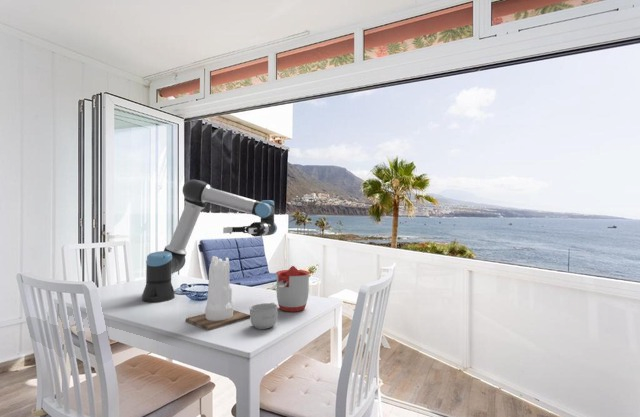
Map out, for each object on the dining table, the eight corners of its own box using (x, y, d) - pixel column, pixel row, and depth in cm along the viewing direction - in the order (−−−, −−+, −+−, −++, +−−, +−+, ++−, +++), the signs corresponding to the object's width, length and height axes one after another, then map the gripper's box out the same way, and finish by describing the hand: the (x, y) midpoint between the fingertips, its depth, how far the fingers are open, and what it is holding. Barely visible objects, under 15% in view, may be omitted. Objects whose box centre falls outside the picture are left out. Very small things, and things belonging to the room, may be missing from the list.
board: (185, 321, 134) (185, 318, 134) (227, 310, 150) (227, 308, 150) (208, 330, 124) (208, 327, 124) (250, 317, 140) (250, 315, 140)
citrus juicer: (266, 311, 150) (266, 266, 151) (288, 302, 165) (289, 262, 166) (294, 316, 142) (295, 270, 143) (315, 307, 157) (315, 265, 158)
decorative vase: (237, 317, 137) (238, 256, 137) (213, 322, 130) (214, 258, 130) (224, 311, 145) (225, 254, 145) (200, 316, 137) (202, 255, 138)
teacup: (264, 333, 122) (265, 311, 122) (243, 327, 128) (243, 307, 128) (287, 323, 134) (287, 303, 134) (267, 318, 140) (267, 299, 140)
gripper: (279, 237, 171) (259, 239, 151) (238, 235, 179) (213, 237, 159) (280, 222, 171) (260, 223, 151) (238, 221, 179) (214, 222, 159)
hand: (236, 230), depth 155 cm, fingers open, 13 cm apart
